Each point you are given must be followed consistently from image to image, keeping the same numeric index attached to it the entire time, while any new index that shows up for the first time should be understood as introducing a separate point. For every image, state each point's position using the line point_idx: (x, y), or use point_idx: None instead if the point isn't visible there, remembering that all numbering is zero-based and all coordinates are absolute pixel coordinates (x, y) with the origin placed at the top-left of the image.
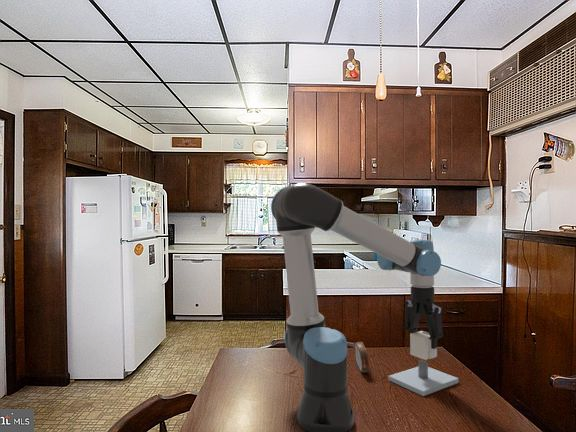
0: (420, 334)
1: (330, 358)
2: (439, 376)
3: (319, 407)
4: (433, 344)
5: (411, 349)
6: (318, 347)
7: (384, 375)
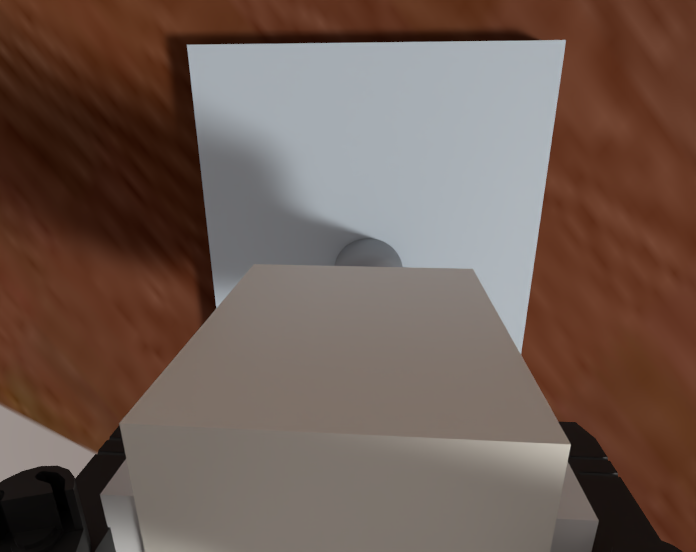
0: None
1: None
2: None
3: None
4: (116, 451)
5: (464, 293)
6: None
7: (636, 98)
